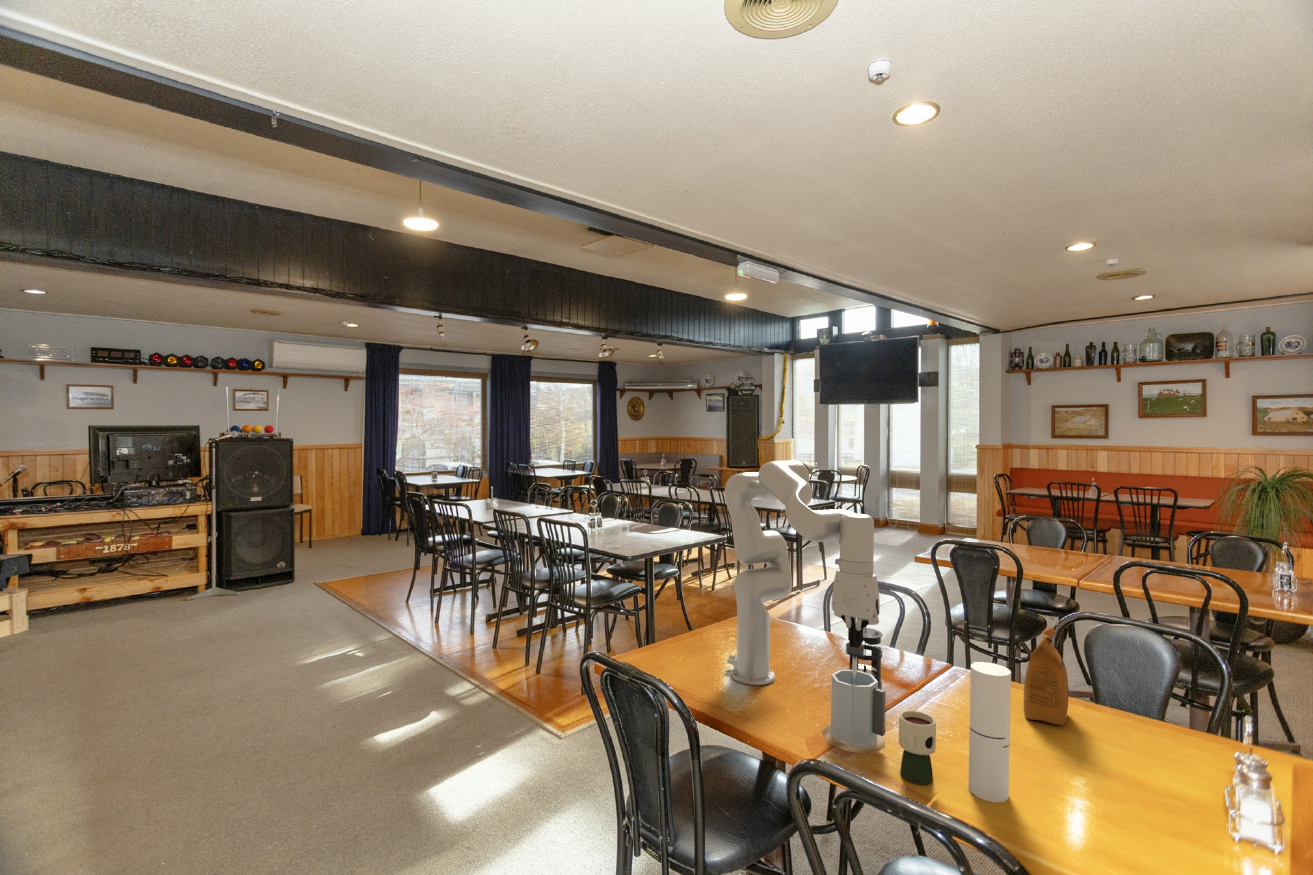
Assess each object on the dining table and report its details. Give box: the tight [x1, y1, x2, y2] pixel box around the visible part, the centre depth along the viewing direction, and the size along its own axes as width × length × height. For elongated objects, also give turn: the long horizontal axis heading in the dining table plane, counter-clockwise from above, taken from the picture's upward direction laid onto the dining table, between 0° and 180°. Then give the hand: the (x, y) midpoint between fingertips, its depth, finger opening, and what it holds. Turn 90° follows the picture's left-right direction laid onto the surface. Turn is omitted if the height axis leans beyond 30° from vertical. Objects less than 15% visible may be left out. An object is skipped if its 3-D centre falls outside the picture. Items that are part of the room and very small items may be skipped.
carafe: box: [830, 669, 886, 748], centre depth 144 cm, size 12×10×14 cm
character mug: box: [898, 709, 937, 786], centre depth 128 cm, size 11×7×13 cm, turn 143°
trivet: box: [822, 724, 886, 754], centre depth 145 cm, size 14×14×1 cm
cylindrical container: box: [967, 661, 1012, 804], centre depth 124 cm, size 7×7×25 cm
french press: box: [848, 626, 884, 690], centre depth 171 cm, size 12×9×23 cm
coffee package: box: [1023, 626, 1070, 726], centre depth 158 cm, size 10×12×22 cm
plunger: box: [845, 641, 865, 685], centre depth 144 cm, size 7×7×12 cm
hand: (855, 644), depth 144 cm, fingers closed
